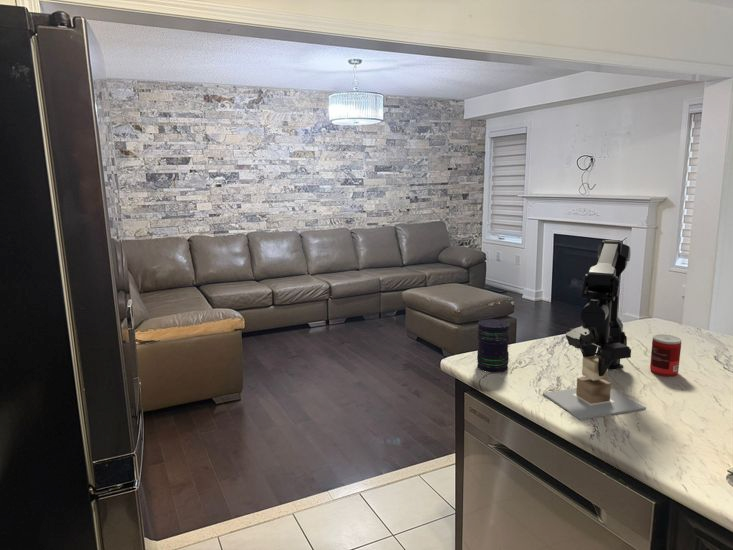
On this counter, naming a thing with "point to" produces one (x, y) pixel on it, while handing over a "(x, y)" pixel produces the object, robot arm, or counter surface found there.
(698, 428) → the counter surface
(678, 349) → the canned food
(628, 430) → the counter surface
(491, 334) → the black jar
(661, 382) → the counter surface
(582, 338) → the robot arm
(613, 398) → the build mat
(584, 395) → the walnut block
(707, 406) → the counter surface
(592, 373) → the maple block
